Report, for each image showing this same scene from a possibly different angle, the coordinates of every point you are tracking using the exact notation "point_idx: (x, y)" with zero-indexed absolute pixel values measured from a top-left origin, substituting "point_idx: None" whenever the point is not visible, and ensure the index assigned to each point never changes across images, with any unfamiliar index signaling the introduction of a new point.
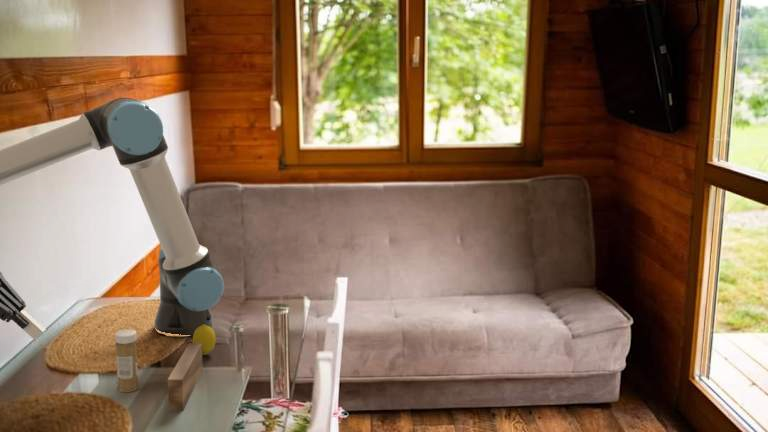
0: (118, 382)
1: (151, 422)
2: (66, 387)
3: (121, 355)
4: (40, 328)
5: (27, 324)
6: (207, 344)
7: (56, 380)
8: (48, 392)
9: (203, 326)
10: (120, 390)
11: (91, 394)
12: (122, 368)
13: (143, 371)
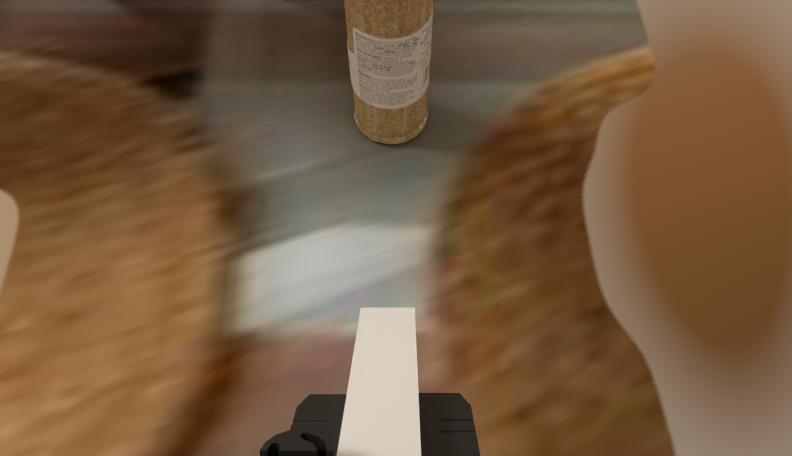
0: (409, 119)
1: (620, 8)
2: None
3: (431, 7)
4: (400, 322)
5: (452, 395)
6: None
7: None
8: None
9: None
10: (422, 128)
11: (446, 219)
12: (429, 52)
13: (236, 109)
